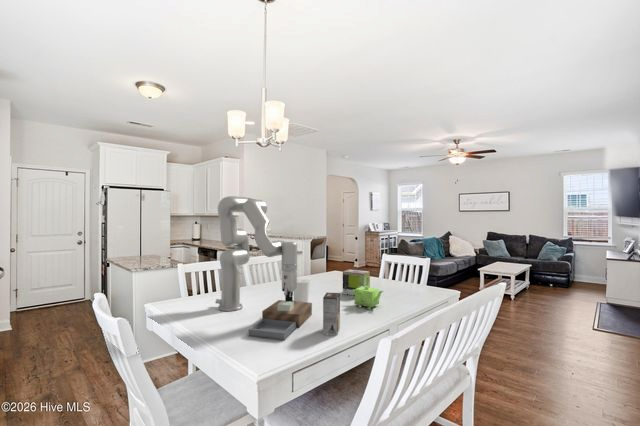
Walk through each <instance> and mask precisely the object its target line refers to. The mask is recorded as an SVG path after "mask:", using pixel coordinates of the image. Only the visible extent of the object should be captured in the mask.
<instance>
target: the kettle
mask: <svg viewBox="0 0 640 426" xmlns="http://www.w3.org/2000/svg"><path fill="white" fill-rule="evenodd" d="M351 292H352V293H353V294H354V295H355V296H354V295H353V296H354V305H358V306H362V307H366V309H367V308H373V306H374V307H376V306H378V305H379V304H380V302H379V301H380V298H381V294H382V293H383V292H385V291H384V290H380V289H379V288H377V287H376V288H375V287H371V286H370V287H369V286H365V287H363V286H362V287H359V288H357V289H355V290H354V289H353V290H352V291H351Z"/></svg>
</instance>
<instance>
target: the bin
mask: <svg viewBox="0 0 640 426" xmlns="http://www.w3.org/2000/svg"><path fill="white" fill-rule="evenodd" d="M295 330H297V328H296V322H290V321H280V320H271V319H262V318H261V319H260V320H259V321H258V322H256V323H255V324H253V325H252V326H250V327H249V328H248V333H247V334H248V336H247V337H251V338H259V339H269V340H274V341H275V340H276V341H285V340H287V338H289V336H290V335H291V334H293V332H294V331H295Z"/></svg>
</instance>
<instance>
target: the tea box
mask: <svg viewBox="0 0 640 426" xmlns="http://www.w3.org/2000/svg"><path fill="white" fill-rule="evenodd" d="M370 275H371V274H370V271H369V270H368V271H367V270H358V269H346V270H342V294H343V295H347V294H348V295H349V296H354V294H353V293H352V292H351V291H352V290H353V289H354V290H355V289H357V288H359V287H362V286H363V287H365V286H369V287H370V288H371V286H370V285H371V276H370Z"/></svg>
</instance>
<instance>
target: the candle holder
mask: <svg viewBox="0 0 640 426" xmlns="http://www.w3.org/2000/svg"><path fill="white" fill-rule="evenodd" d="M310 283H311V282H310V279H305V278H300V279H298V278H297V288H296V289H295V290H294V291H293V301H296V302H307V303H309V298H310V297H309V295H310Z"/></svg>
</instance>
